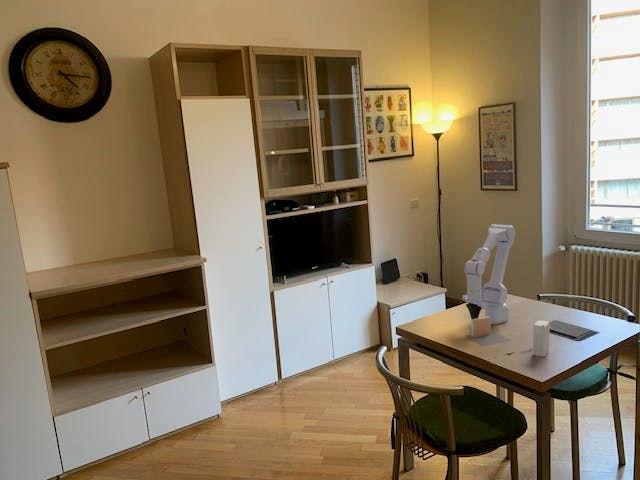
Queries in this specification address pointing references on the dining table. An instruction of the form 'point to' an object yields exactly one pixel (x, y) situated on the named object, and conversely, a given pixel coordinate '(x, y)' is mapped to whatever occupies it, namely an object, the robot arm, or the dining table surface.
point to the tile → (481, 326)
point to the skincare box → (541, 338)
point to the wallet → (570, 331)
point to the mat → (488, 338)
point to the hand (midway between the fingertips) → (474, 320)
